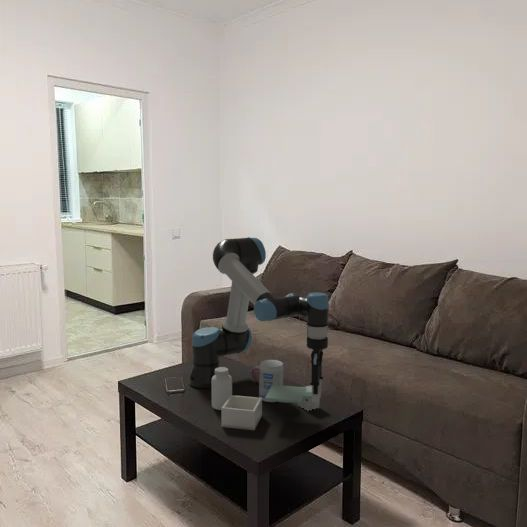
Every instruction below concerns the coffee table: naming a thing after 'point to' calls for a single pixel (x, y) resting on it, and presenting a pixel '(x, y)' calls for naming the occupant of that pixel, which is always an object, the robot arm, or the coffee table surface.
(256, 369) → the video game controller
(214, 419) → the coffee table surface
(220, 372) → the pill bottle
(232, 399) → the box
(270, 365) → the supplement tub
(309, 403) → the skincare box
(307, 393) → the lid
